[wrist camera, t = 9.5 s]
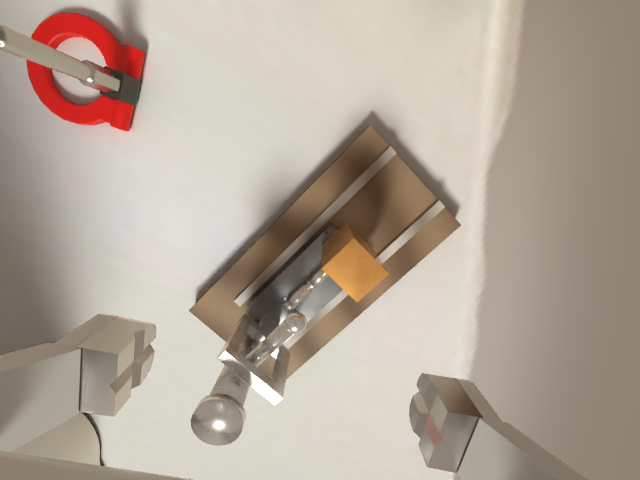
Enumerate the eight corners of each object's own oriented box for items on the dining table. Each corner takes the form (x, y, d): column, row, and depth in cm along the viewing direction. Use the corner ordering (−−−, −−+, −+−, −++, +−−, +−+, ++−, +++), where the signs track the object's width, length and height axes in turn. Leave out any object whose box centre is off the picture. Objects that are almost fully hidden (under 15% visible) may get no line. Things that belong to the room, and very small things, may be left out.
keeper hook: (256, 350, 30) (219, 453, 19) (232, 330, 29) (180, 424, 19) (319, 291, 28) (318, 367, 18) (295, 269, 28) (279, 333, 17)
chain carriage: (287, 336, 29) (273, 406, 21) (248, 302, 28) (216, 359, 20) (378, 253, 27) (404, 292, 19) (338, 213, 26) (347, 234, 18)
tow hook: (32, 105, 27) (132, 143, 27) (-240, 42, 14) (-49, 114, 14) (47, 3, 25) (153, 45, 25) (-253, -176, 12) (-31, -89, 12)
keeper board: (280, 376, 32) (278, 388, 31) (195, 303, 30) (187, 312, 29) (453, 222, 28) (462, 225, 26) (367, 127, 26) (371, 124, 25)
